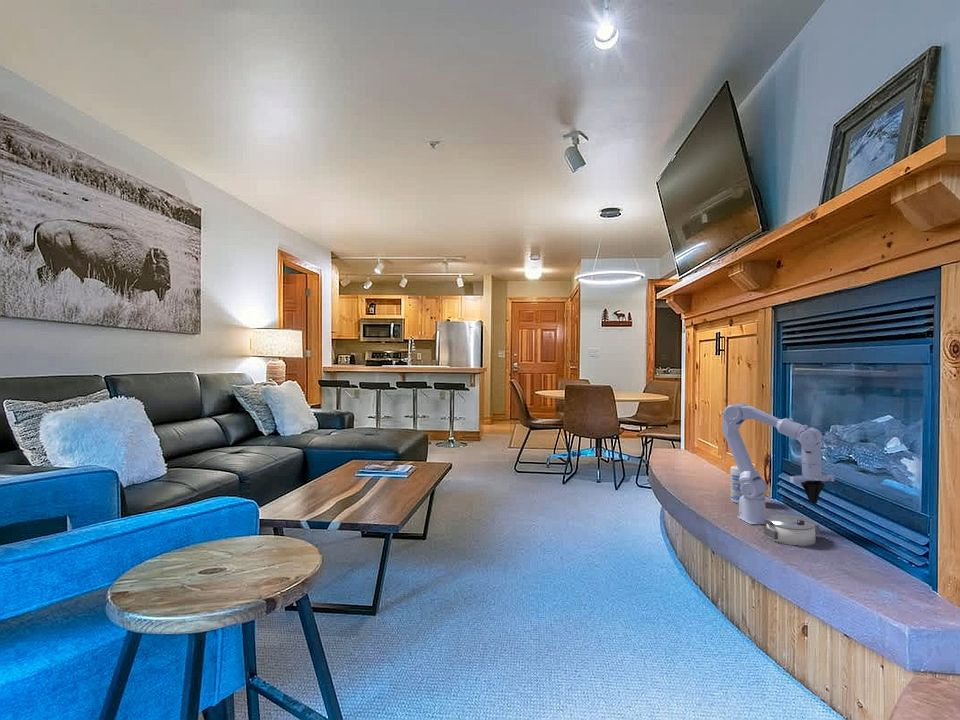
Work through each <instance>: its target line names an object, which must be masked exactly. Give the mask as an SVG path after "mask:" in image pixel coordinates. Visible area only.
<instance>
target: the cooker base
mask: <svg viewBox="0 0 960 720" xmlns="http://www.w3.org/2000/svg"><path fill="white" fill-rule="evenodd" d="M820 531H821V530H820V525H819V524H818V523H815V527H814V528H813V529H808V530H794V529H786V528H781V527H777V526H774V525H768V524H766V526H763V534H764V535H766V537H767V538H768V539H769V538H770V539H769V540H771V539H772V540H771V541H773V540H774V541H773V542H775V541H776V542H775V543H778V542H779V543H778V544H783V545H787V544H789V545H788V546H795V545H798V546H799V547H806V546H812V545H815V544H816V541H817V539H816V535H820V533H821V532H820Z"/></svg>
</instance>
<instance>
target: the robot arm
mask: <svg viewBox="0 0 960 720" xmlns="http://www.w3.org/2000/svg"><path fill="white" fill-rule="evenodd" d="M746 420H756V421H759V422H761V423H764V424H766V425H769V426H771V427H774V428H776V430H777V432H778V433H779V434H782V435H784V436H786V437H789V438H791V439H793V440H795V441H798V443H800V449H801V450H800V454H801V455H800V456H801V474H799V475H792V476H789V482H790V483H792V484H797V483H800V485H801V487H802V488H803V490H804V491H805V494H806V496H807V500H808V503H810V504H813V505H814V504H818V501H819V496H820V494H821V491H822V490H823V488H824V487H825V483H823V482H835V475H833V474H822V470H823V469H822V452H821V443H820V442H822V440H823V434H822V432H821V431H820V430H819V429H817V428H816V427H812V426H811V427H809V426H808V425H807V424H804V425H803V424H801V423H799V422H797V421H794V419H793V418H791V417H788V418H787V417H785V418H782V419H780V418H778V417H776V416H774V415H771V414H770V413H767V412H765V411H764V410H762V409H758V408H756V407H755V406H752V405H749V404H746V403H744V402H741V403H740V402H739V403H737V404H729V405H727V406H726V407H725V408H724V410H723V411H722V425H721V430H722V432H723V435H724V438H725V441H726V442H727V445H728V447H729V449H730V452H731V456H732V458H733V460H734V462H735V466H737V467H738V470H739V472H740V477H739V481H740V490H741V493H742V494H743V495H742V496H741V497H740V499H739V504H738V514H739V515H737V516H736V517H737V518H738V519H740V520H742V521H743V522H745V523H747V524H748V525H767V524H766V523H765V520H766V517H767V513H766V511H767V510H766V509H767V508H766V495H765V494H766V492H767V490H768V485H767V482H766V481H765V479H763V478H762V475H761V474H760V472H758V471H757V470H756V468H755V466H754V464H753V462H752V460H751V458H750V455H749V453H748V450H747V447H746V444H745V443H744V440H743V438H742V435H741V433H740V431H739V429H740V427H741V425H742V424H743V423H744V422H745V421H746ZM754 468H755V469H754Z"/></svg>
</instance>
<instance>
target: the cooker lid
mask: <svg viewBox="0 0 960 720" xmlns="http://www.w3.org/2000/svg"><path fill="white" fill-rule="evenodd" d="M765 523H766V524H765V525H767V524H768V525H774V526H777V527H781V528H786V529H794V530H808V529H813V528H814V527H815V524H816V522H814V521H813V520H811V519H809V518H806V517H803V516H799V515H792V514H771V515H770V514H769V515H768V516H767V515H766V520H765Z"/></svg>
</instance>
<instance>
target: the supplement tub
mask: <svg viewBox="0 0 960 720" xmlns="http://www.w3.org/2000/svg"><path fill="white" fill-rule="evenodd" d="M754 469H755V470H756V468H755V467H754ZM739 477H740V472H739V470H738V467H737V465H732V466H731V467H730V500H731V502H733V503H735V504H738V505H739V499H740V497H741V496H742V495H743V494H742V493H741V490H740V481H739Z"/></svg>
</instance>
